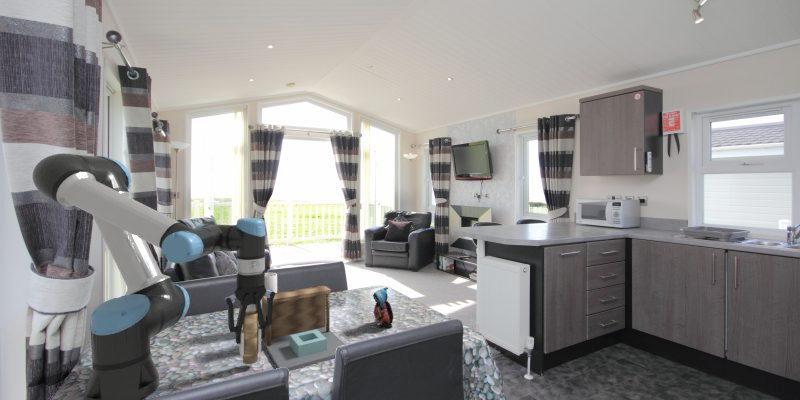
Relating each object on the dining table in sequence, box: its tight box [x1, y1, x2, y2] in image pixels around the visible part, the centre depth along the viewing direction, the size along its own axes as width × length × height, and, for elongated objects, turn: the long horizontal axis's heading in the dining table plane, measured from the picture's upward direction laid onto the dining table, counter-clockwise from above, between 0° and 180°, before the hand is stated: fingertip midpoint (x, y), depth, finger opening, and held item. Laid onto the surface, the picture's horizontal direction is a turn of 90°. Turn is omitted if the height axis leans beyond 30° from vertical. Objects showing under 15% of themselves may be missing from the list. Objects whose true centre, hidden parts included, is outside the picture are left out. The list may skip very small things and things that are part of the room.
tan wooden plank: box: [261, 285, 332, 346], centre depth 123 cm, size 22×6×16 cm, turn 123°
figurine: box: [372, 286, 394, 329], centre depth 134 cm, size 10×7×15 cm
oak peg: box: [242, 311, 259, 365], centre depth 103 cm, size 4×4×14 cm
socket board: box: [261, 327, 347, 372], centre depth 116 cm, size 22×24×4 cm
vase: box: [246, 272, 278, 327], centre depth 129 cm, size 11×7×20 cm, turn 123°
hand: (250, 351), depth 103 cm, fingers closed on oak peg, 4 cm apart
